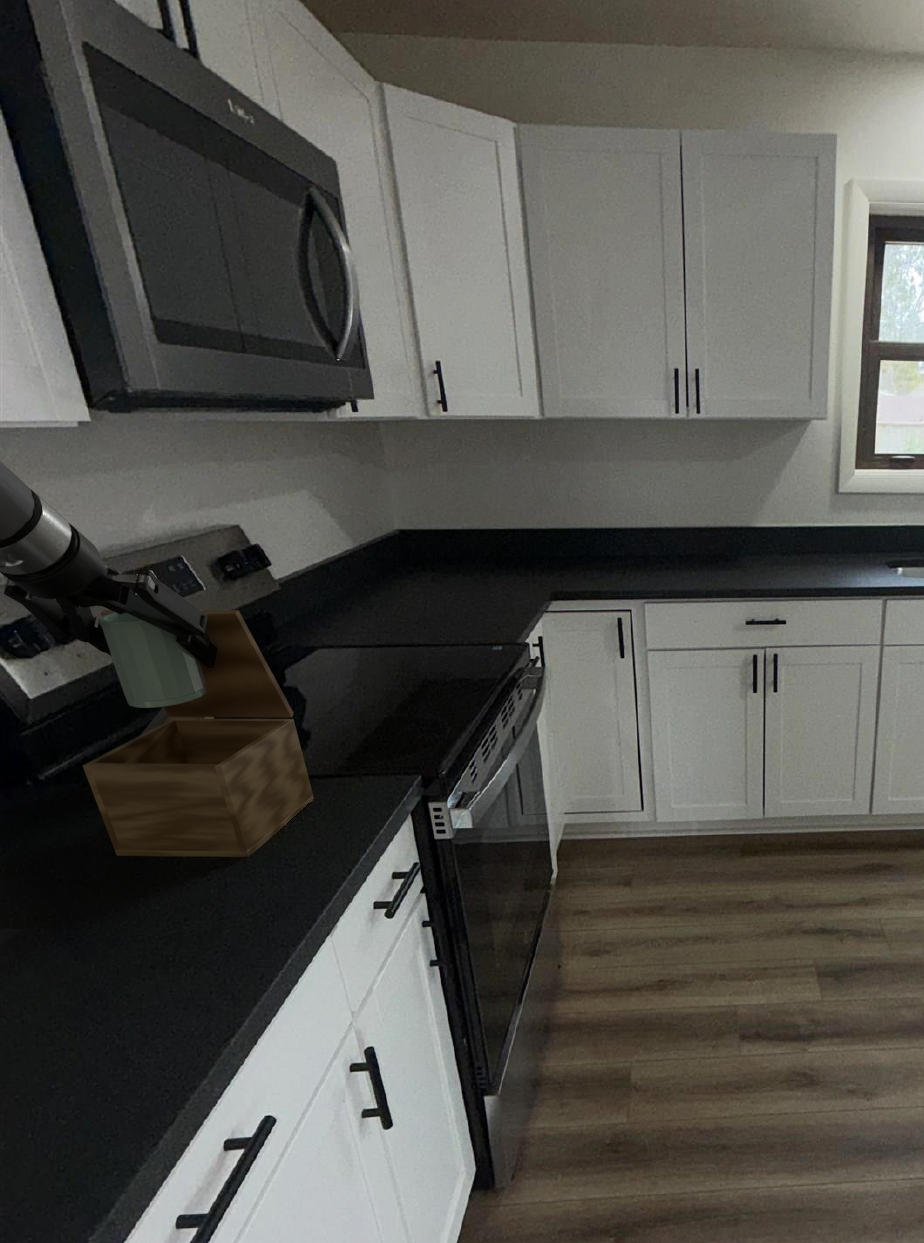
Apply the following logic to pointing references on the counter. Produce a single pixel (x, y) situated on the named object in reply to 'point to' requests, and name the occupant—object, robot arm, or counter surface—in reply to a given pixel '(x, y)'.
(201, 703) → the lid
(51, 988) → the counter surface
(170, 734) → the chest
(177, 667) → the cup
